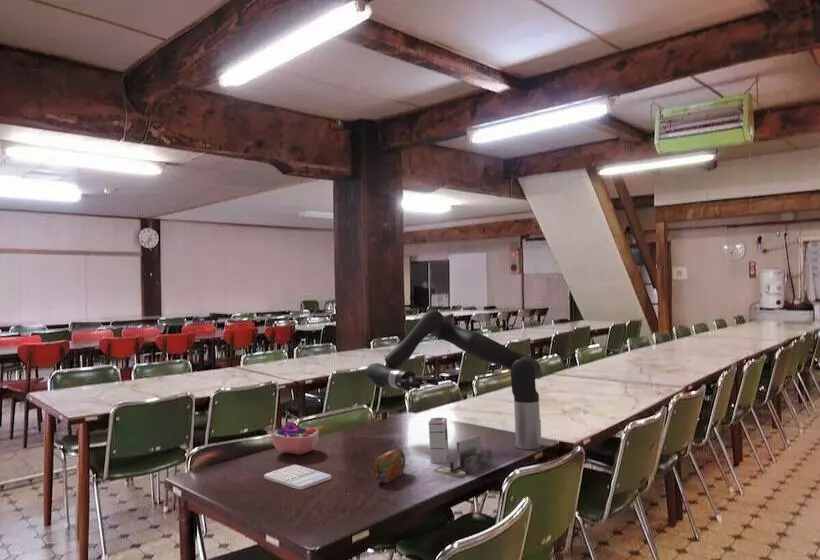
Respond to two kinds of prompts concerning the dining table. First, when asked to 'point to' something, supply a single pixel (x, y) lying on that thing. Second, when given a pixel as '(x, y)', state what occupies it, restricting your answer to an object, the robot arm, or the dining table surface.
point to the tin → (389, 466)
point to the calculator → (297, 477)
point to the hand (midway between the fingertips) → (428, 384)
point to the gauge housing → (469, 464)
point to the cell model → (295, 438)
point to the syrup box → (438, 440)
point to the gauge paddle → (466, 451)
